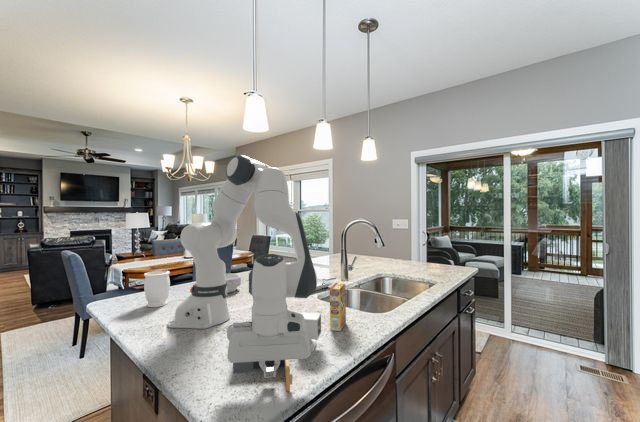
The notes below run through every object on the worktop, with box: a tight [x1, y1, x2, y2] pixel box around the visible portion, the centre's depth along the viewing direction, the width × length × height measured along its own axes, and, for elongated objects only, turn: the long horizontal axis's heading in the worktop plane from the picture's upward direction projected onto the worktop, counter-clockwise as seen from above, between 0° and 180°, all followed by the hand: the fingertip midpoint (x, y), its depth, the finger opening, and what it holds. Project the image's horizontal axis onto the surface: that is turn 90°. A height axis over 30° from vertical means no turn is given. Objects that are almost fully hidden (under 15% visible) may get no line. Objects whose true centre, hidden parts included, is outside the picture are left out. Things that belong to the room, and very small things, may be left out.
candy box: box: [329, 282, 347, 332], centre depth 107 cm, size 9×4×15 cm, turn 162°
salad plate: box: [314, 277, 334, 292], centre depth 162 cm, size 21×21×3 cm
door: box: [284, 360, 293, 392], centre depth 74 cm, size 10×2×5 cm, turn 9°
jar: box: [143, 270, 171, 308], centre depth 134 cm, size 11×10×15 cm
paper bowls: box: [226, 273, 242, 294], centre depth 157 cm, size 15×15×8 cm
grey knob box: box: [232, 360, 285, 374], centre depth 82 cm, size 14×9×6 cm, turn 96°
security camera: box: [301, 312, 322, 353], centre depth 91 cm, size 6×7×10 cm
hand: (269, 376), depth 72 cm, fingers closed
